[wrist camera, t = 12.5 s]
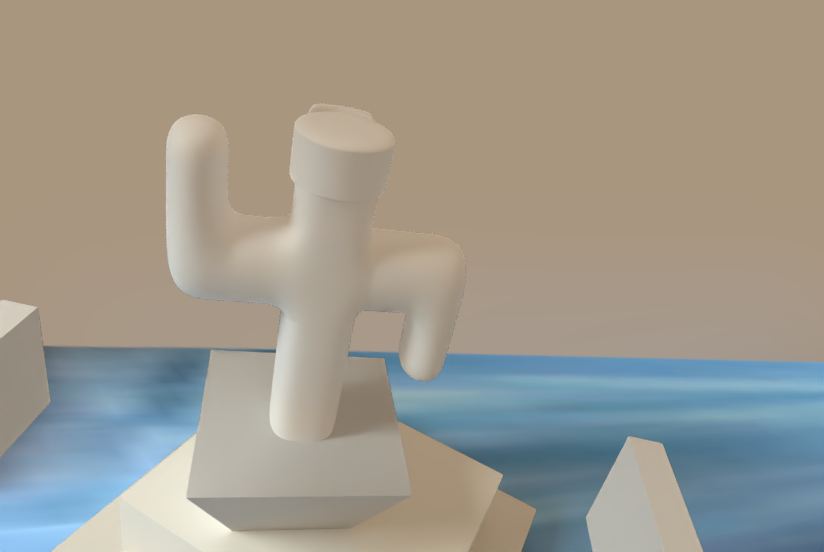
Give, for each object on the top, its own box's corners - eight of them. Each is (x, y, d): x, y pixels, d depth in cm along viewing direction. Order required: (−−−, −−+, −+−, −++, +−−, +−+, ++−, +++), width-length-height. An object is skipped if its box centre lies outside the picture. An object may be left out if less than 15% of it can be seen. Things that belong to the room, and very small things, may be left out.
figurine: (421, 560, 22) (546, 191, 15) (149, 571, 20) (137, 138, 13) (393, 419, 28) (472, 107, 21) (181, 414, 26) (186, 60, 19)
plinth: (43, 593, 23) (29, 509, 21) (267, 397, 35) (275, 329, 32) (402, 861, 19) (438, 794, 16) (524, 535, 30) (556, 467, 28)
